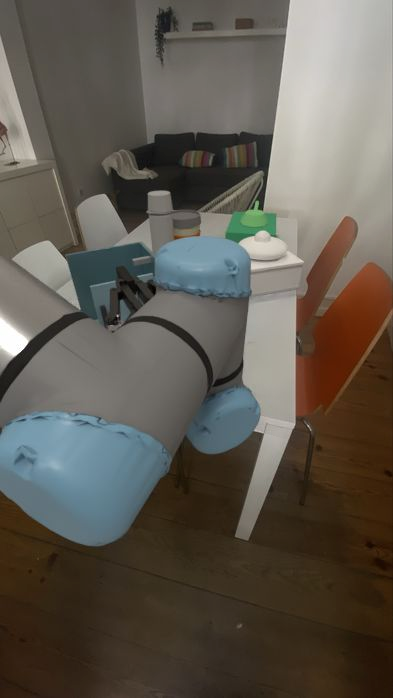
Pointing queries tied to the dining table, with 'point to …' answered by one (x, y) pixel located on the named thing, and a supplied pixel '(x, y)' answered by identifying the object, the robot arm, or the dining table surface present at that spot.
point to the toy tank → (250, 224)
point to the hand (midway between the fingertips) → (121, 273)
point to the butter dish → (271, 264)
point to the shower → (106, 269)
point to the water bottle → (160, 219)
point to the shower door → (103, 299)
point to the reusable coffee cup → (186, 223)
